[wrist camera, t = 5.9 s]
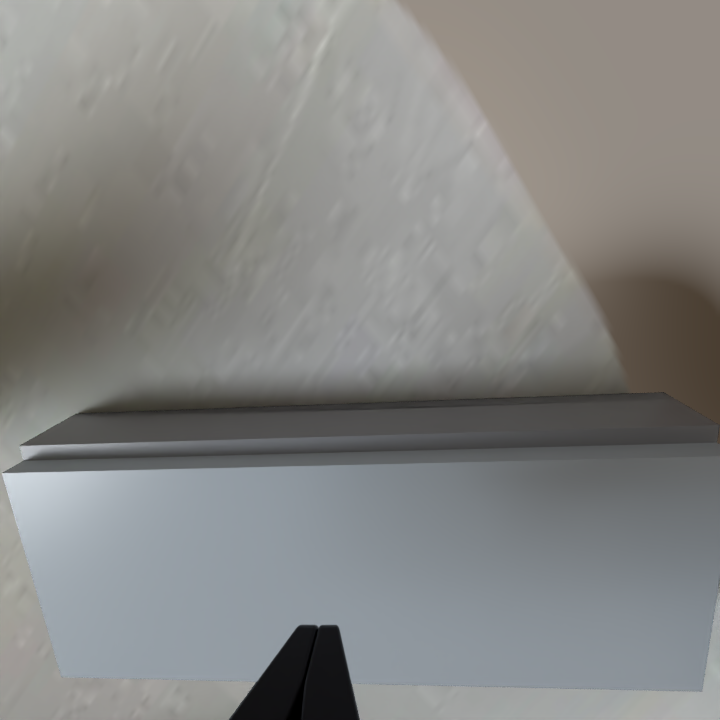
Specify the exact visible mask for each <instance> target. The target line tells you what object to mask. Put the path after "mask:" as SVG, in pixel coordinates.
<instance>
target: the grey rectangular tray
mask: <svg viewBox="0 0 720 720" xmlns="http://www.w3.org/2000/svg"><path fill="white" fill-rule="evenodd" d="M719 427H720V425H718V424H717V423H715V422H713V421H712V420H710V419H708V418H707V417H705V416H703V415H702V414H700V413H698V412H696V411H695V410H693V409H691V408H690V407H688V406H686V405H684V404H683V403H681V402H679V401H678V400H676V399H674V398H673V397H671V396H669V395H667V394H666V393H664V392H661V393H632V394H605V395H577V396H550V397H522V398H495V399H467V400H440V401H412V402H385V403H357V404H330V405H303V406H275V407H248V408H220V409H193V410H165V411H138V412H110V413H83V414H75V415H73V416H71V417H70V418H68V419H66V420H64V421H62V422H61V423H59V424H57V425H55V426H54V427H52V428H50V429H48V430H46V431H45V432H43V433H41V434H39V435H38V436H36V437H34V438H32V439H31V440H29V441H27V442H25V443H23V444H22V445H20V446H19V447H20V451H21V454H22V457H23V460H24V461H33V460H71V459H109V458H147V457H186V456H224V455H262V454H300V453H338V452H376V451H414V450H452V449H490V448H529V447H567V446H605V445H643V444H681V443H717V439H718V433H719Z"/></svg>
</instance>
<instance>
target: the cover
mask: <svg viewBox="0 0 720 720" xmlns="http://www.w3.org/2000/svg"><path fill="white" fill-rule="evenodd" d="M2 475H3V479H4V482H5V486H6V489H7V493H8V496H9V499H10V503H11V506H12V510H13V513H14V517H15V520H16V523H17V527H18V530H19V534H20V537H21V541H22V544H23V547H24V551H25V554H26V558H27V561H28V564H29V568H30V571H31V575H32V578H33V582H34V585H35V588H36V592H37V595H38V599H39V602H40V606H41V609H42V612H43V616H44V619H45V623H46V626H47V630H48V633H49V636H50V640H51V643H52V647H53V650H54V654H55V657H56V660H57V664H58V667H59V671H60V674H61V677H74V678H119V679H164V680H208V681H253V682H257V681H258V679H259V678H260V677H261V675H262V674H263V672H264V671H265V670H266V668H267V667H268V666H269V664H270V663H271V662H272V660H273V659H274V657H275V656H276V655H277V653H278V652H279V651H280V649H281V648H282V647H283V645H284V644H285V643H286V641H287V640H288V638H289V637H290V636H291V634H292V633H293V632H294V630H295V629H296V628H297V627H298V626H299V625H317V626H318V627H319V626H320V625H337V626H338V627H339V629H340V633H341V638H342V642H343V647H344V651H345V656H346V660H347V665H348V669H349V674H350V678H351V683H352V684H387V685H431V686H476V687H521V688H565V689H610V690H655V691H699V692H702V688H703V682H704V676H705V669H706V663H707V657H708V650H709V644H710V637H711V631H712V625H713V618H714V612H715V606H716V599H717V593H718V586H719V580H720V444H718V443H681V444H643V445H605V446H567V447H529V448H490V449H452V450H414V451H376V452H338V453H300V454H262V455H224V456H186V457H147V458H109V459H71V460H33V461H22V462H21V463H19V464H17V465H15V466H14V467H12V468H10V469H8V470H7V471H5V472H3V473H2Z"/></svg>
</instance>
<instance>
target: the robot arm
mask: <svg viewBox="0 0 720 720" xmlns="http://www.w3.org/2000/svg"><path fill="white" fill-rule="evenodd" d="M229 720H360V719H359V714H358V710H357V705H356V701H355V696H354V692H353V687H352V683H351V678H350V674H349V669H348V665H347V660H346V656H345V651H344V647H343V642H342V638H341V633H340V629H339V627H338V626H337V625H320V626H319V627H318V626H317V625H299V626H298V627H297V628H296V629H295V630H294V632H293V633H292V634H291V636H290V637H289V638H288V640H287V641H286V643H285V644H284V645H283V647H282V648H281V649H280V651H279V652H278V653H277V655H276V656H275V657H274V659H273V660H272V662H271V663H270V664H269V666H268V667H267V668H266V670H265V671H264V672H263V674H262V675H261V677H260V678H259V679H258V681H257V682H256V683H255V685H254V686H253V687H252V689H251V690H250V692H249V693H248V694H247V696H246V697H245V698H244V700H243V701H242V702H241V704H240V705H239V706H238V708H237V709H236V711H235V712H234V713H233V715H232V716H231V717H230V719H229Z"/></svg>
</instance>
